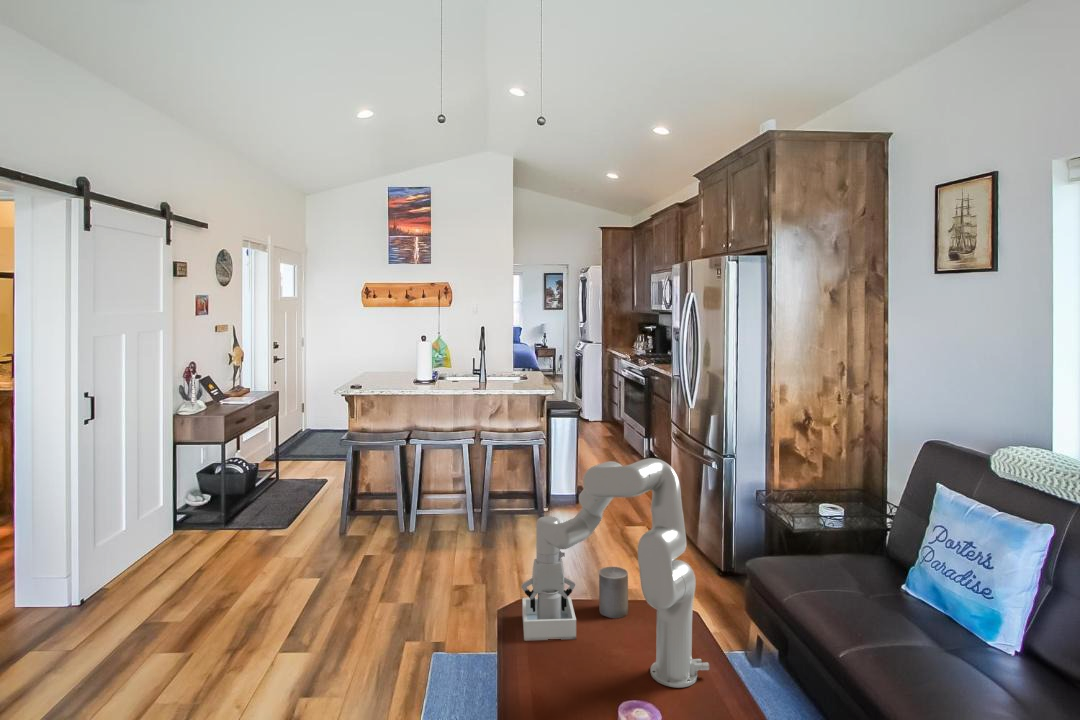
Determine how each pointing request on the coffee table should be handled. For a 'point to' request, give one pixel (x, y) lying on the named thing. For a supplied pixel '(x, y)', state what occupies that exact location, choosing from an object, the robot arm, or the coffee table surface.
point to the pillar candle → (613, 592)
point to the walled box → (548, 623)
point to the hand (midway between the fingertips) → (548, 609)
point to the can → (549, 605)
